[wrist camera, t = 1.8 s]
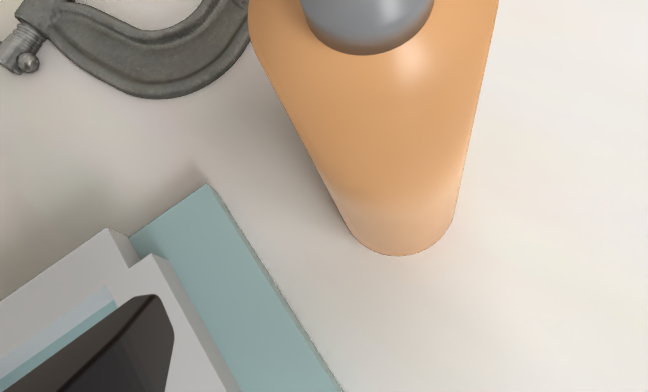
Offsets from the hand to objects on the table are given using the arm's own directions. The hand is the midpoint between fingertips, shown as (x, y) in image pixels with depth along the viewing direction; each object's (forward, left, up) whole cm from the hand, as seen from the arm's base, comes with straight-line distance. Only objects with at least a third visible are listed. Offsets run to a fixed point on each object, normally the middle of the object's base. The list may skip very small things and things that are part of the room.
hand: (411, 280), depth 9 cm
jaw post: (+4, -2, -11) cm, 13 cm away
